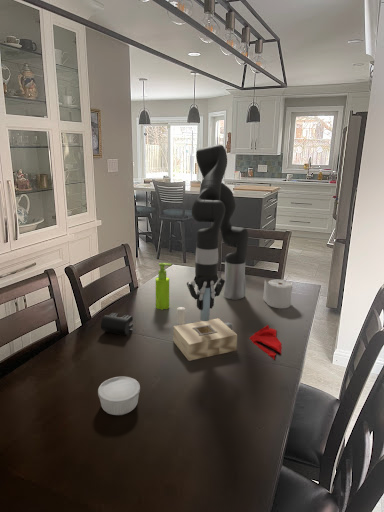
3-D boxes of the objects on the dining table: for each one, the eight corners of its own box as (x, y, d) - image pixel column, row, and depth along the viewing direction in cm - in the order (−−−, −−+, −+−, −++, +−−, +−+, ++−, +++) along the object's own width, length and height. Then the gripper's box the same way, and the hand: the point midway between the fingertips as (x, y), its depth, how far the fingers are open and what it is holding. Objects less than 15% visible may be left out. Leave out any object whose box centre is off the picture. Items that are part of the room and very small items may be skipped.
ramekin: (122, 387, 111) (121, 371, 109) (149, 403, 104) (148, 386, 103) (90, 406, 103) (89, 389, 101) (117, 425, 96) (116, 407, 94)
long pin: (207, 316, 134) (208, 284, 131) (211, 320, 131) (212, 287, 128) (198, 318, 133) (199, 285, 129) (202, 321, 130) (203, 288, 126)
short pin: (229, 333, 144) (229, 321, 142) (233, 337, 141) (234, 325, 139) (221, 335, 142) (222, 323, 141) (225, 339, 140) (226, 326, 138)
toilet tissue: (291, 309, 166) (293, 288, 164) (263, 307, 168) (265, 286, 165) (289, 300, 177) (291, 280, 174) (263, 298, 178) (264, 278, 176)
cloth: (254, 324, 153) (254, 319, 153) (289, 329, 149) (289, 324, 149) (242, 356, 129) (243, 350, 129) (284, 364, 125) (284, 358, 125)
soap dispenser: (171, 310, 163) (171, 265, 158) (155, 309, 163) (154, 265, 158) (172, 304, 169) (172, 261, 164) (156, 304, 169) (156, 261, 164)
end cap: (101, 334, 141) (100, 318, 139) (110, 326, 148) (110, 310, 146) (125, 339, 138) (124, 322, 136) (134, 330, 145) (133, 314, 143)
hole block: (217, 332, 144) (218, 317, 143) (236, 350, 132) (237, 334, 130) (173, 341, 137) (173, 325, 135) (188, 360, 125) (189, 343, 123)
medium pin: (183, 324, 151) (183, 306, 149) (186, 327, 148) (186, 309, 146) (175, 325, 149) (175, 307, 147) (178, 328, 147) (178, 311, 145)
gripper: (220, 255, 132) (218, 301, 137) (182, 259, 127) (182, 307, 131) (230, 261, 125) (228, 309, 130) (191, 265, 120) (190, 315, 125)
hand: (205, 308), depth 131 cm, fingers closed on long pin, 3 cm apart
